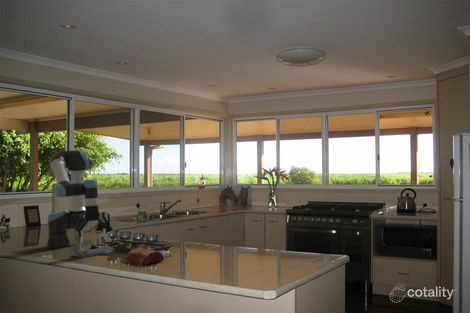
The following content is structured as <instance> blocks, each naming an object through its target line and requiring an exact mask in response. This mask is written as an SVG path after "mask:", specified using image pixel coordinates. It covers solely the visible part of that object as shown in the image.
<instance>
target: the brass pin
mask: <svg viewBox="0 0 470 313" xmlns="http://www.w3.org/2000/svg"><path fill="white" fill-rule="evenodd" d="M96 228H97V227H93V226H90V227H89V234H90V237H89V238H90V247H91V249H95V248H97V246H98V245H97V244H98V243H97V229H96Z"/></svg>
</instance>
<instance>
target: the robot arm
mask: <svg viewBox="0 0 470 313" xmlns="http://www.w3.org/2000/svg"><path fill="white" fill-rule="evenodd" d="M88 167H89V158H88V155H87V152H86V151H85V150H81V149H78V150H77V149H75V150H74V149H73V150H60V151H57V152H56V153H55V154H54V155H53V156H52V157H50V160H49V168H50V169H51V171H53V174H54V179H55V182H56V185H55V188H54V191H55V192H54V193H55V196H56V197H57V198H65V197H66V198H67V197H70V198H71V199H70V202H71V203H70V204H71V207H70V208H69V210H68V212H67V211H66V210H60V211H55V212H51V213H49V214H48V215H47V227H48V228H47V229H48V238H47V240H46V245H45V247H46V249H59V248H65V247H69V246H71V241H70V238H69V235H68V230H74V231H76V232H77V233H78V237H79V238H80V243H81V244H83V243H84V236H83V235H84V234H83V229H85V228H87V227H88V226H89V224H90V222H95V221H98V222H99V223H100V224H101V225H102V226H103V227H104V229H103V235H104V240H106V234H107V228H108V227H110V226H111V223H110V224H109V223H108V221H107V219H106V217H105V215H104V212H105V211H101V212H102V213H99V212H100V211H99V198H98V197H99V195H98V194H99V193H98V182H97V179H95V178H94V179H85V171H87V168H88ZM68 172H69V173H70V178H69V175H68V174H69V173H68ZM99 215H100V216H102V218H103V220H104V221H105V223H106V225H107V226H106V225H105V224H104V223H103V222H102V221H101V220H100V219H99V218H98V217H99ZM98 222H97V223H98Z"/></svg>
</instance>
